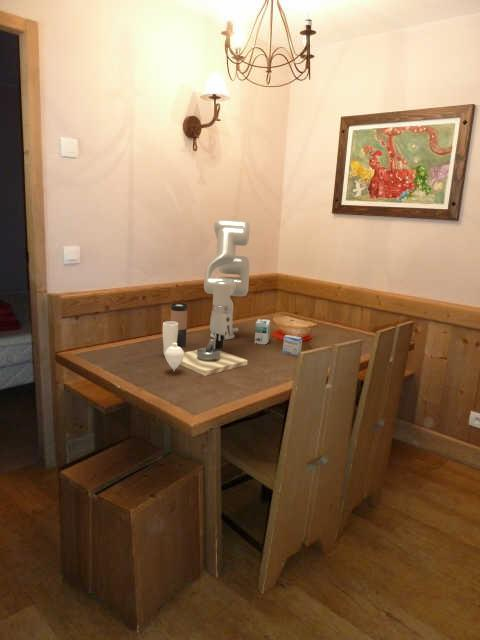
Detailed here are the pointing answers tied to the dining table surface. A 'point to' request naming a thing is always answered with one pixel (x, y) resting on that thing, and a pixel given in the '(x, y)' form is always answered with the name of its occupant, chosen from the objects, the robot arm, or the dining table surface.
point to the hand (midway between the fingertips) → (219, 348)
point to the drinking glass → (169, 334)
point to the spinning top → (174, 356)
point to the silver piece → (209, 352)
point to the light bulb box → (262, 331)
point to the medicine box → (292, 344)
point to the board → (212, 363)
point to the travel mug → (180, 321)
